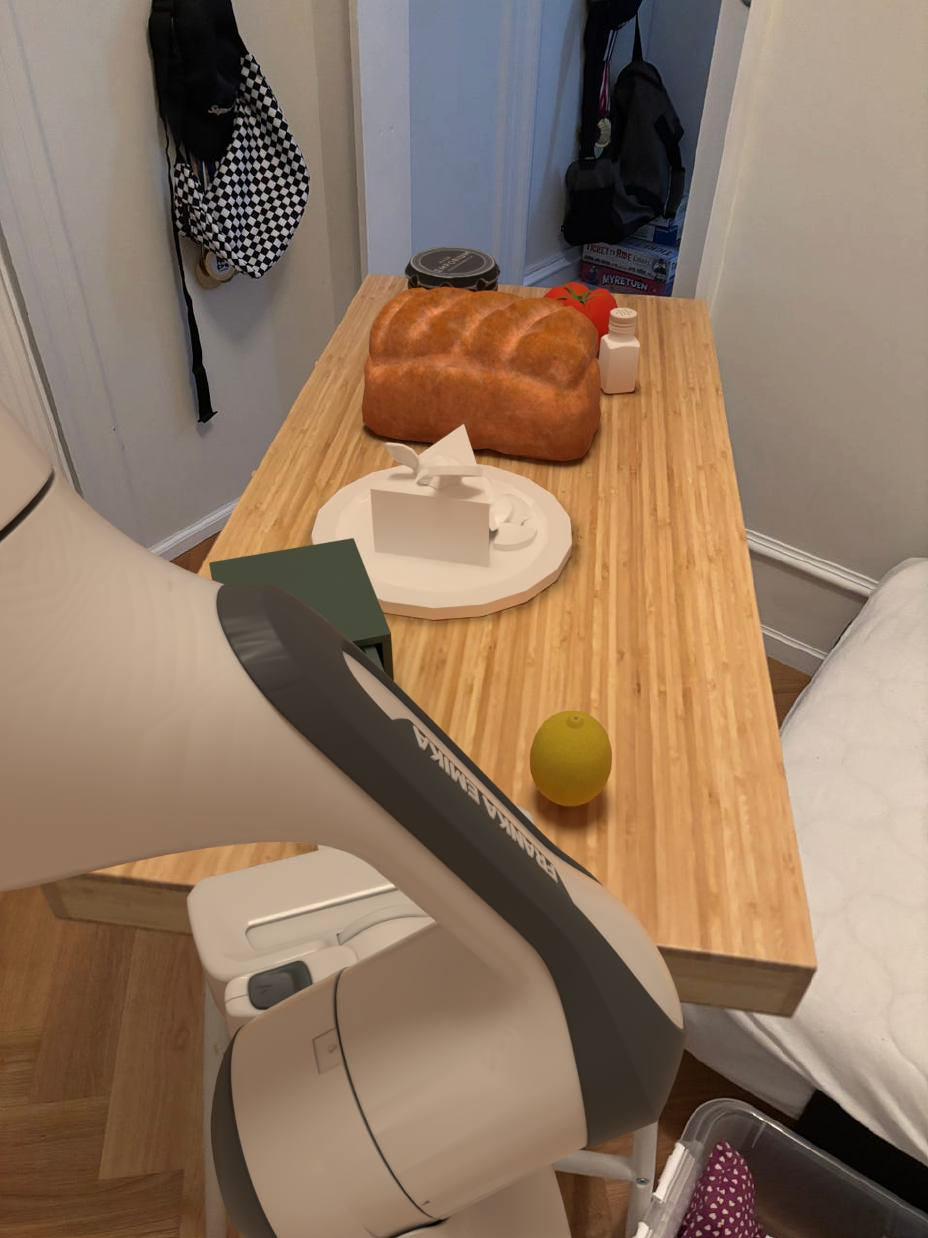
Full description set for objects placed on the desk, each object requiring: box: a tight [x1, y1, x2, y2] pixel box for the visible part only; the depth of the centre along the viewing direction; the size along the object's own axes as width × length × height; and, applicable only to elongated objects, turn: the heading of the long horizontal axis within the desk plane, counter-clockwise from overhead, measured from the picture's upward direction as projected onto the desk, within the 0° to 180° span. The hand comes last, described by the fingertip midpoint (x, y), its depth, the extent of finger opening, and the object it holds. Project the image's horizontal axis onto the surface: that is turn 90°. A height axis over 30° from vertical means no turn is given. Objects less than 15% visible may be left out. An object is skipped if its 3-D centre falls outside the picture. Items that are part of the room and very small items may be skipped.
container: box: [404, 246, 502, 292], centre depth 126 cm, size 13×13×10 cm
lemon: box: [529, 710, 613, 807], centre depth 63 cm, size 6×6×8 cm
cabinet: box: [208, 538, 395, 682], centre depth 72 cm, size 12×11×9 cm
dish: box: [310, 424, 573, 621], centre depth 87 cm, size 25×25×11 cm
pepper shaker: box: [597, 307, 641, 395], centre depth 113 cm, size 4×4×10 cm
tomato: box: [543, 281, 619, 351], centre depth 123 cm, size 11×11×8 cm
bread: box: [361, 287, 602, 462], centre depth 103 cm, size 14×26×16 cm, turn 74°
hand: (347, 796), depth 59 cm, fingers closed
